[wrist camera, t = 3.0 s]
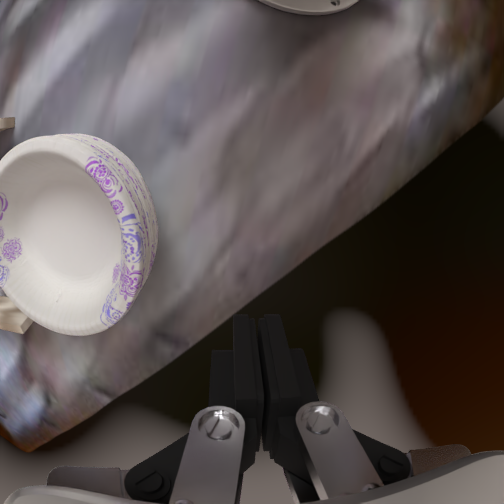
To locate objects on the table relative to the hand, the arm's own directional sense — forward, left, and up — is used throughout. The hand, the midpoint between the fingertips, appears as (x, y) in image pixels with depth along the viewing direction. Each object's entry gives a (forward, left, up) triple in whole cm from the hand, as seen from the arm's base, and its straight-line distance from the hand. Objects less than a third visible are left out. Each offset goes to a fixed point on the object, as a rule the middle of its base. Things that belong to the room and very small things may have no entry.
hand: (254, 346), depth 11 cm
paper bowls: (+14, 0, -16) cm, 21 cm away
